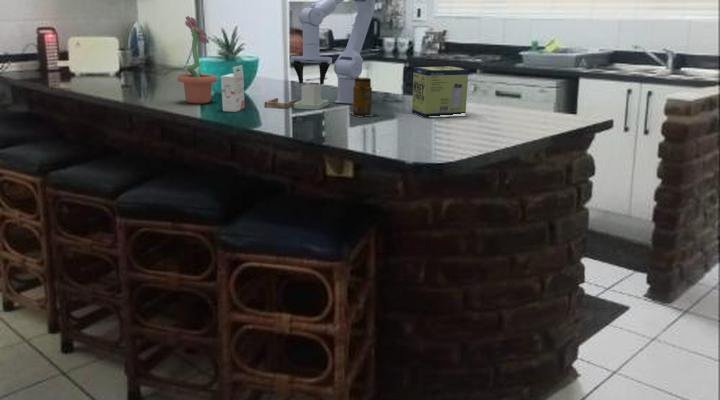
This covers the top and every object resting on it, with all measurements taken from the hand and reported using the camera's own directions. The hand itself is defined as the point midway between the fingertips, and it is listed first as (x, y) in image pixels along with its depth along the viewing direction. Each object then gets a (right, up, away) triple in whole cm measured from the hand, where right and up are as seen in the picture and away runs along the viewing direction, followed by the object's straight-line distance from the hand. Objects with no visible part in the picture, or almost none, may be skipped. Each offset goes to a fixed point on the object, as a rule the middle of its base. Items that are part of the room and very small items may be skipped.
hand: (311, 83), depth 223 cm
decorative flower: (-41, -6, +6) cm, 42 cm away
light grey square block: (0, -7, +2) cm, 8 cm away
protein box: (+43, -12, -10) cm, 46 cm away
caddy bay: (-11, -7, +3) cm, 13 cm away
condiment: (+18, -13, -13) cm, 25 cm away
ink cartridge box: (-26, -10, -7) cm, 29 cm away
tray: (0, -8, +2) cm, 8 cm away
